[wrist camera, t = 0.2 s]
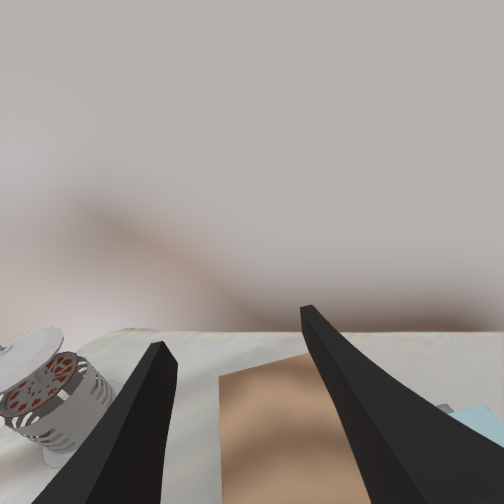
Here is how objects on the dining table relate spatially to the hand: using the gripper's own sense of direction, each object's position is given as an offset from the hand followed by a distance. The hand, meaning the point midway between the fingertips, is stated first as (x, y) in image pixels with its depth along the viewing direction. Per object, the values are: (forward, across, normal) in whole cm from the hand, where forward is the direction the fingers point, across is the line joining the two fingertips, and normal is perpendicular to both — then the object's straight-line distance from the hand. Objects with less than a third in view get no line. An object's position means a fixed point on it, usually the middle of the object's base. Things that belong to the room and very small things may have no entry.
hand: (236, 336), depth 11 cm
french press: (+9, +26, +21) cm, 34 cm away
